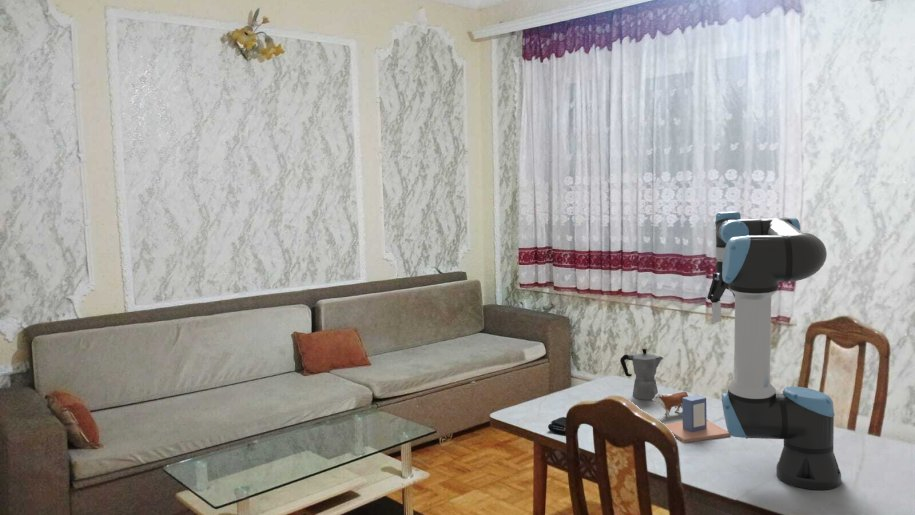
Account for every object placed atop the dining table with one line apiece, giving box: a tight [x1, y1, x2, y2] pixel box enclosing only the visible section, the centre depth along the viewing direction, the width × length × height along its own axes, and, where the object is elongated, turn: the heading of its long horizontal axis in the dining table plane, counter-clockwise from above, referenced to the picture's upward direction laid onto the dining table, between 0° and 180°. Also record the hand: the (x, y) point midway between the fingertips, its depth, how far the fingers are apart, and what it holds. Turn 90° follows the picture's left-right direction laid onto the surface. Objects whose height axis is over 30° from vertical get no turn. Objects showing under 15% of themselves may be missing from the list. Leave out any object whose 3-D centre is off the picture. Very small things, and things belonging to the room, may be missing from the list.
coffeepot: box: [619, 348, 664, 401], centre depth 257 cm, size 15×9×18 cm, turn 75°
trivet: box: [665, 419, 732, 444], centre depth 219 cm, size 14×16×1 cm
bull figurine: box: [651, 391, 689, 418], centre depth 236 cm, size 4×13×8 cm, turn 107°
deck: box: [681, 394, 708, 432], centre depth 218 cm, size 6×4×10 cm
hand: (729, 325), depth 224 cm, fingers open, 13 cm apart
